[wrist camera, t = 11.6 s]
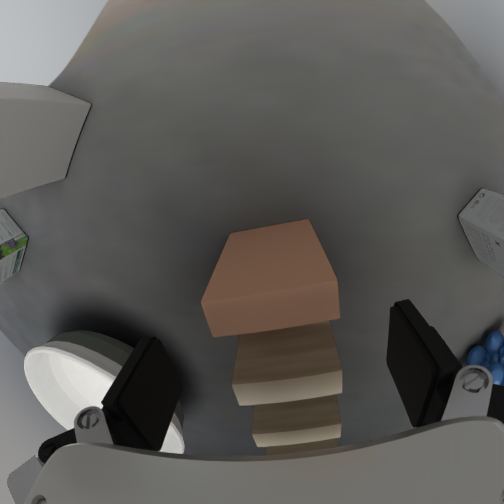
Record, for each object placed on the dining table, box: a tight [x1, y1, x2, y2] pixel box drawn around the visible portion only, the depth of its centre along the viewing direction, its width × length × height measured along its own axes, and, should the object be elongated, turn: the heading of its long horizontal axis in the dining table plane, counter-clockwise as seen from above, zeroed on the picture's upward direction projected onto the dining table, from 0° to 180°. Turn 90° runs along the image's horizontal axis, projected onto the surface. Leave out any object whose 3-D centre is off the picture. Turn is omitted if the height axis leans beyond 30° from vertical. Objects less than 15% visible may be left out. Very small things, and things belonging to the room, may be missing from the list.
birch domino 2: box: [252, 394, 341, 447], centre depth 21 cm, size 2×6×10 cm, turn 102°
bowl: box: [24, 330, 185, 454], centre depth 25 cm, size 19×19×8 cm
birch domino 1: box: [231, 321, 342, 406], centre depth 19 cm, size 2×6×10 cm, turn 102°
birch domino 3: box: [266, 438, 338, 455], centre depth 23 cm, size 2×6×10 cm, turn 102°
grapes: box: [467, 331, 504, 386], centre depth 20 cm, size 12×7×12 cm, turn 136°
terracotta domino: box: [201, 219, 340, 337], centre depth 17 cm, size 2×6×10 cm, turn 102°
